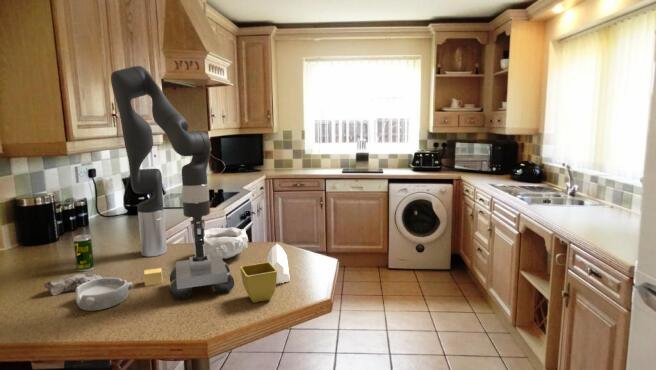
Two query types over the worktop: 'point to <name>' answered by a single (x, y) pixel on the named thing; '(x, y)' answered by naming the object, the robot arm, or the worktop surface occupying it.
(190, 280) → the dolly
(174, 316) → the worktop surface
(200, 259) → the pin
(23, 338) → the worktop surface
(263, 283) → the flower pot
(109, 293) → the dish
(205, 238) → the bowl
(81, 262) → the beer can
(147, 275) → the pale yellow block
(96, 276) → the mineral rock
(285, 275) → the white faceted prism
